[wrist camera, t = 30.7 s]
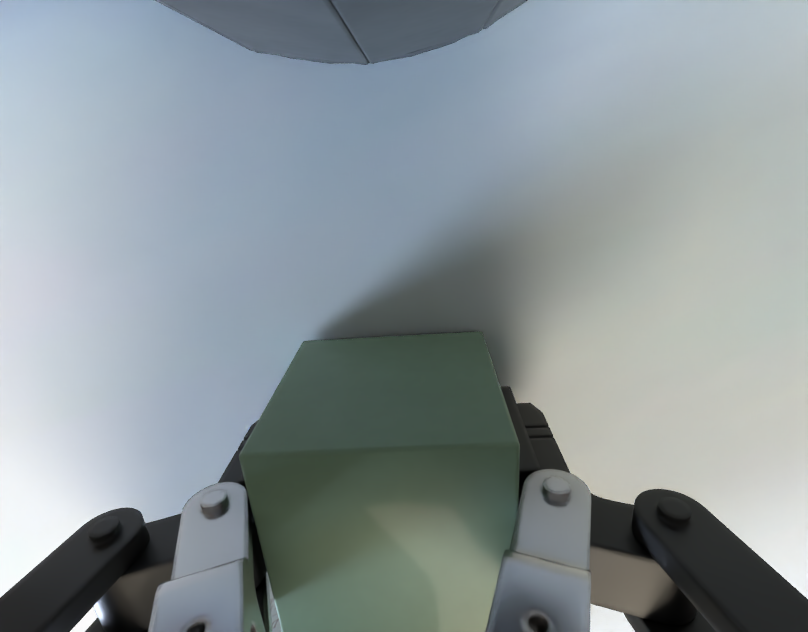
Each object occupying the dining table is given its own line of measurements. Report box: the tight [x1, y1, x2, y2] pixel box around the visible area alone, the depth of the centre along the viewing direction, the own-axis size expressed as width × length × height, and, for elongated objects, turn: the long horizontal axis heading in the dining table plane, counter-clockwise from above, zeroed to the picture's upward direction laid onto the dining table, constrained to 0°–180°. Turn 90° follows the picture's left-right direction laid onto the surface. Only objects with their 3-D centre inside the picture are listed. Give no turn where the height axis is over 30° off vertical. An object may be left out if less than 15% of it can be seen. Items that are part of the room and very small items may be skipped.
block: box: [239, 331, 520, 632], centre depth 11 cm, size 5×5×5 cm
